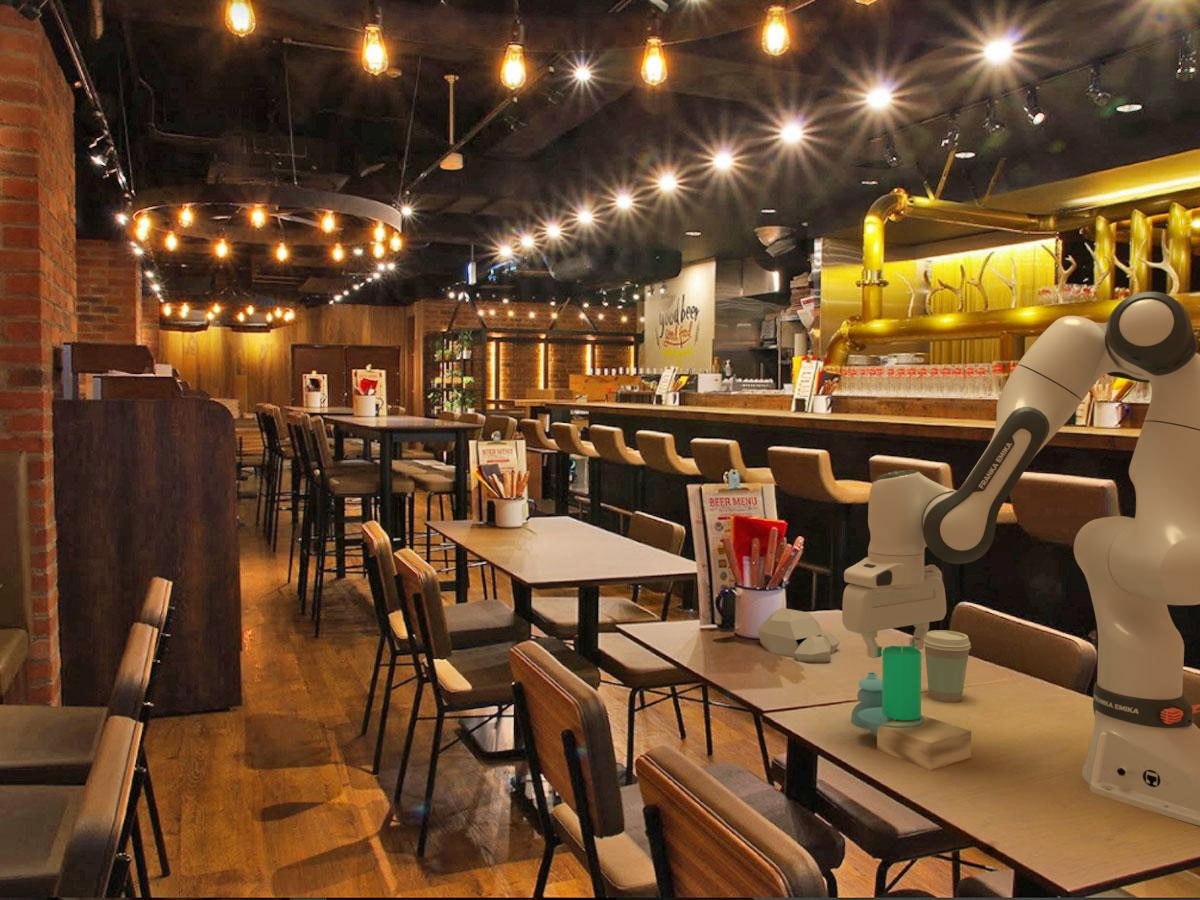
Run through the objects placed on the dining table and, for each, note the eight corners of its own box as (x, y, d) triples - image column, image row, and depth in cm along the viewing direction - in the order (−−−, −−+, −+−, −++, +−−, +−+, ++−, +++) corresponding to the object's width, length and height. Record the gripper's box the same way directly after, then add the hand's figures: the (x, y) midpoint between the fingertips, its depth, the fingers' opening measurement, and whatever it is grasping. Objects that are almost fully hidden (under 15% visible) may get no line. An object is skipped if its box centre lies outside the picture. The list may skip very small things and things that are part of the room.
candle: (894, 706, 166) (894, 635, 165) (927, 714, 161) (928, 640, 161) (875, 714, 162) (875, 641, 161) (909, 722, 157) (909, 647, 157)
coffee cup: (973, 706, 182) (975, 641, 182) (924, 703, 184) (926, 638, 184) (965, 692, 191) (967, 630, 190) (919, 689, 193) (920, 628, 192)
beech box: (970, 762, 155) (971, 731, 155) (929, 776, 150) (930, 743, 149) (917, 743, 164) (918, 713, 163) (876, 755, 158) (877, 724, 158)
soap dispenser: (933, 753, 157) (934, 696, 156) (868, 755, 156) (868, 697, 156) (895, 719, 175) (895, 667, 174) (835, 720, 174) (836, 668, 174)
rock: (839, 646, 226) (840, 604, 226) (841, 669, 207) (842, 623, 206) (758, 641, 230) (759, 599, 230) (752, 663, 211) (753, 618, 210)
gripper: (926, 560, 170) (926, 640, 171) (835, 572, 161) (836, 657, 161) (955, 566, 165) (955, 648, 166) (864, 578, 155) (864, 666, 156)
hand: (895, 653), depth 163 cm, fingers open, 8 cm apart
